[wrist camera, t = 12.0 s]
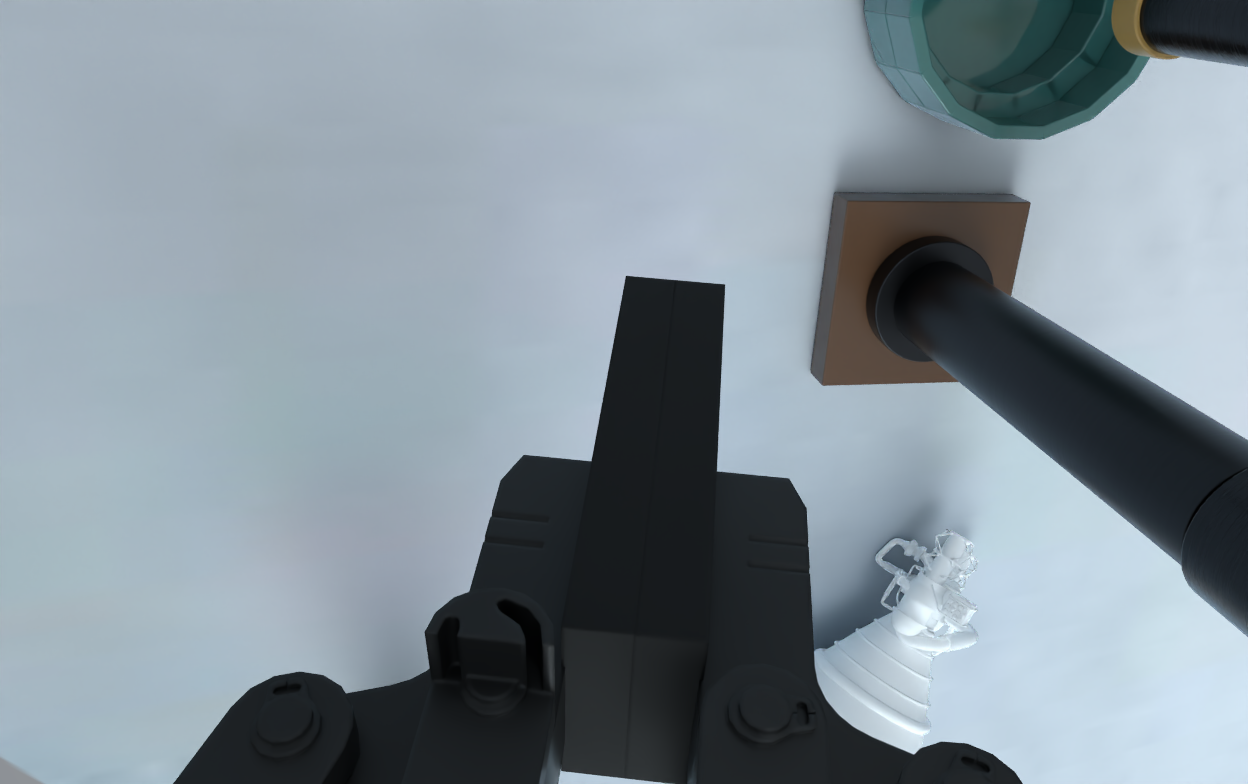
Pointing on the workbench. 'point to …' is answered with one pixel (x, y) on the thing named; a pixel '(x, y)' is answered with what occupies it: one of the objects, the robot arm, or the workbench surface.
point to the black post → (1007, 352)
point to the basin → (1003, 61)
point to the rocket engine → (901, 646)
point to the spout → (1244, 505)
